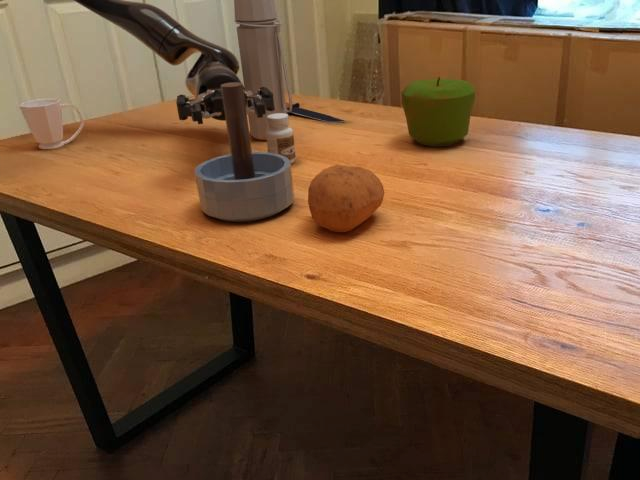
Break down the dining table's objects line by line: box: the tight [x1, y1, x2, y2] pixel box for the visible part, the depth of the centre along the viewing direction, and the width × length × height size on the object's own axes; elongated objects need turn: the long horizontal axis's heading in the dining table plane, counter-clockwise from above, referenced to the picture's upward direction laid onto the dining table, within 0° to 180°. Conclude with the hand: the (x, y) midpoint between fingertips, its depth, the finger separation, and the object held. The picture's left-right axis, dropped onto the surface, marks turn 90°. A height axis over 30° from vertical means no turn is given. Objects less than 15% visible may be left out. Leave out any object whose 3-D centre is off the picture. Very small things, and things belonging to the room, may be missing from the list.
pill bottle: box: [266, 113, 297, 165], centre depth 108 cm, size 4×4×8 cm
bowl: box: [193, 151, 295, 223], centre depth 91 cm, size 13×13×6 cm
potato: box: [307, 164, 385, 233], centre depth 85 cm, size 9×11×8 cm
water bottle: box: [233, 0, 293, 141], centre depth 118 cm, size 9×8×25 cm
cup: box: [18, 97, 84, 150], centre depth 123 cm, size 7×10×8 cm
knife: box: [286, 102, 346, 123], centre depth 138 cm, size 26×3×5 cm
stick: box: [221, 82, 255, 180], centre depth 89 cm, size 3×3×16 cm
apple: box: [400, 76, 476, 148], centre depth 115 cm, size 12×12×11 cm
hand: (230, 113), depth 95 cm, fingers open, 8 cm apart
